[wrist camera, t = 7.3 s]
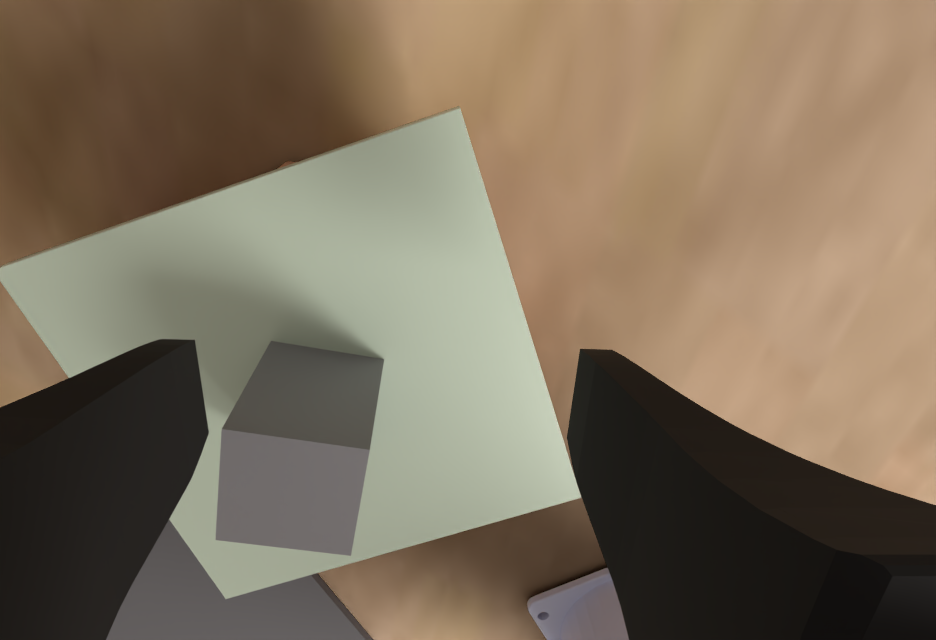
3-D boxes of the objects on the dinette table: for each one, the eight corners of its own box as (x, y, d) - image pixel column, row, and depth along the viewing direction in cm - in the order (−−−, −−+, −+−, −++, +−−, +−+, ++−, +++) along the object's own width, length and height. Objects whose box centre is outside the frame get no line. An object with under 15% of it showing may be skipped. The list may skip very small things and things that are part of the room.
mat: (382, 650, 29) (381, 658, 28) (144, 743, 31) (140, 751, 30) (204, 439, 23) (200, 445, 23) (-72, 568, 25) (-79, 576, 25)
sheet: (576, 485, 19) (617, 608, 15) (231, 584, 20) (177, 726, 16) (459, 105, 14) (469, 129, 10) (8, 262, 15) (-156, 344, 11)
